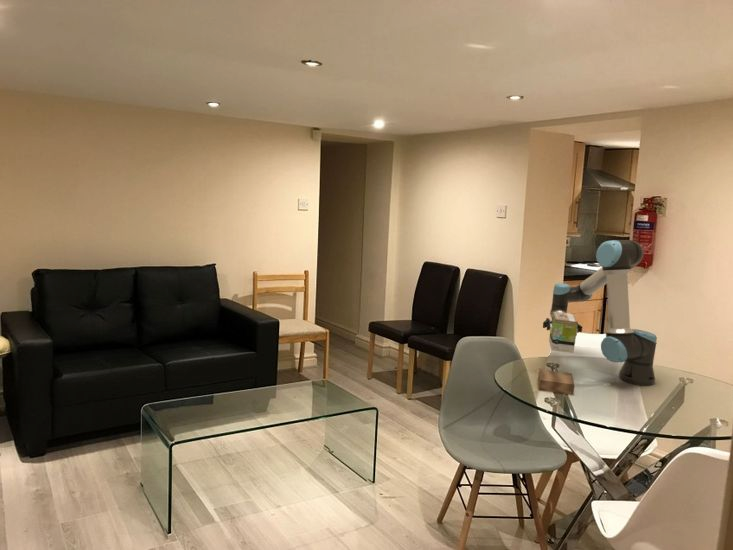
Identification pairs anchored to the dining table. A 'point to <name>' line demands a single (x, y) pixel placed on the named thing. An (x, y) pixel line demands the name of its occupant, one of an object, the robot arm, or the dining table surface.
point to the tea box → (563, 332)
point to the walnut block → (556, 382)
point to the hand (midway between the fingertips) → (563, 331)
